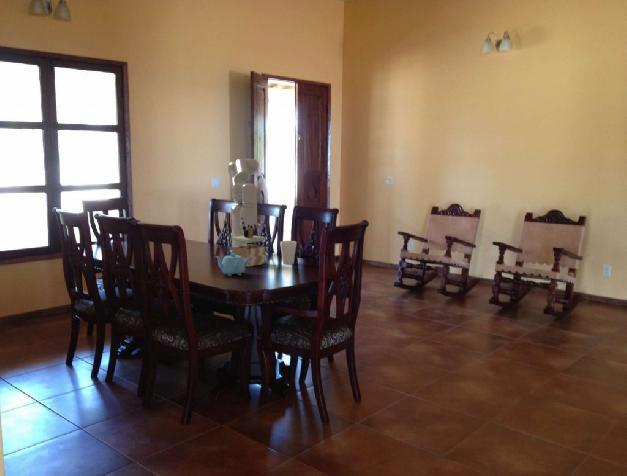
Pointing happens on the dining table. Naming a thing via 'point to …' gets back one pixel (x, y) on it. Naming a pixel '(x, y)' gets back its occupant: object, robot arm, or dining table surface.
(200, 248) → the dining table surface
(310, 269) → the dining table surface
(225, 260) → the teapot
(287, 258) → the foam cup
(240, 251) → the box
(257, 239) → the lid
